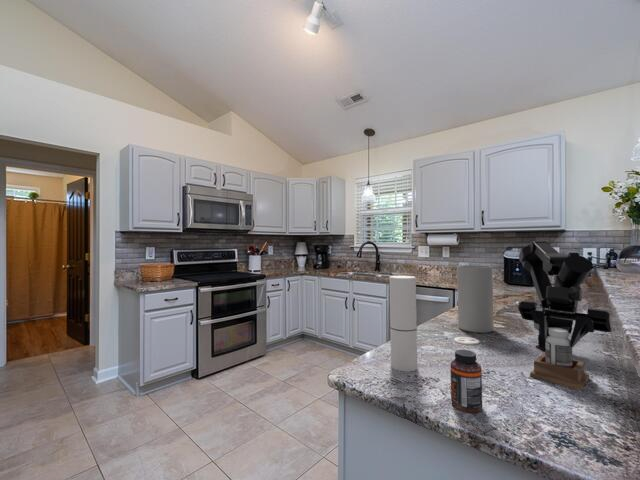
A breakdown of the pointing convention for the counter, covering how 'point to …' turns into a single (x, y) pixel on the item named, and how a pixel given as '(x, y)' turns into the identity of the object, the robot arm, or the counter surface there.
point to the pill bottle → (558, 348)
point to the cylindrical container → (403, 323)
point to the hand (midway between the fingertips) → (557, 343)
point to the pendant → (466, 340)
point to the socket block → (560, 373)
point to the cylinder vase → (475, 298)
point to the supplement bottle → (466, 382)
